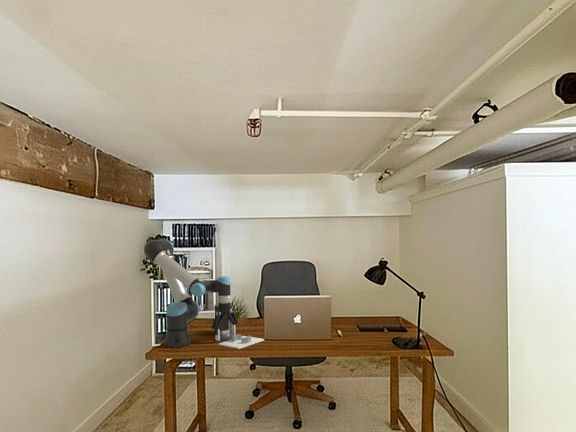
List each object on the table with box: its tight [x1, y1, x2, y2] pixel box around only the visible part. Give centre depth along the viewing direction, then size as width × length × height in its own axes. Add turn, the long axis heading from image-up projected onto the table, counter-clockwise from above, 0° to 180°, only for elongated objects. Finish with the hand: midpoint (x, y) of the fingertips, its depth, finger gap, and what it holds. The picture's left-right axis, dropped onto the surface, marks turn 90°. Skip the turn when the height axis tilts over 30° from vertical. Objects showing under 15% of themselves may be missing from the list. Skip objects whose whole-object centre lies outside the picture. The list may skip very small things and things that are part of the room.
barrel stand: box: [217, 333, 265, 350], centre depth 252 cm, size 22×16×4 cm
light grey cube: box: [220, 330, 232, 342], centre depth 260 cm, size 6×6×6 cm
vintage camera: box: [213, 303, 232, 333], centre depth 279 cm, size 10×16×20 cm, turn 174°
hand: (225, 337), depth 260 cm, fingers open, 13 cm apart
